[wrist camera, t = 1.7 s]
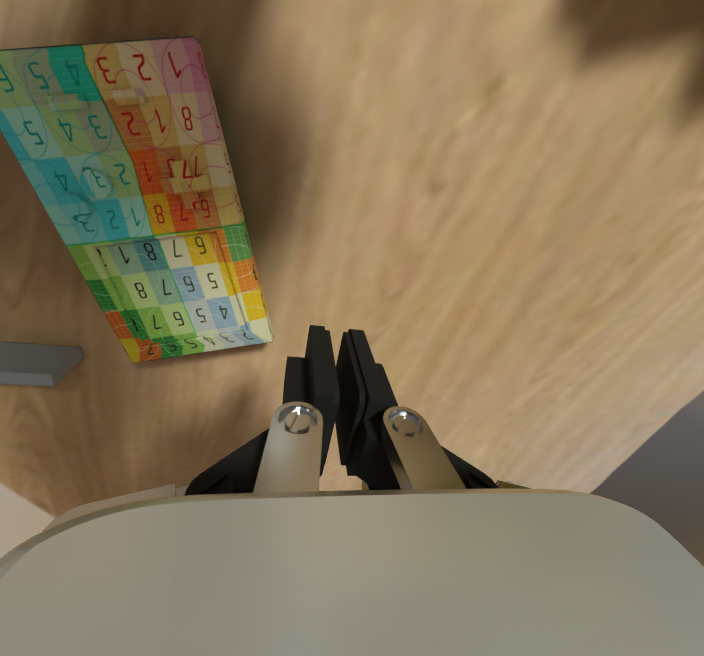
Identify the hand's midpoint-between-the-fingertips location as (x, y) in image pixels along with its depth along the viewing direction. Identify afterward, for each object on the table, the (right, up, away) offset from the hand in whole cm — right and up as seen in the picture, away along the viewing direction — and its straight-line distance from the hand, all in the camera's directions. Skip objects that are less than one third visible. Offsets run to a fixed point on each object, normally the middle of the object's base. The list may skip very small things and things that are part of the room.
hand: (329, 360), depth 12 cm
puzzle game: (-13, +10, +13) cm, 21 cm away
